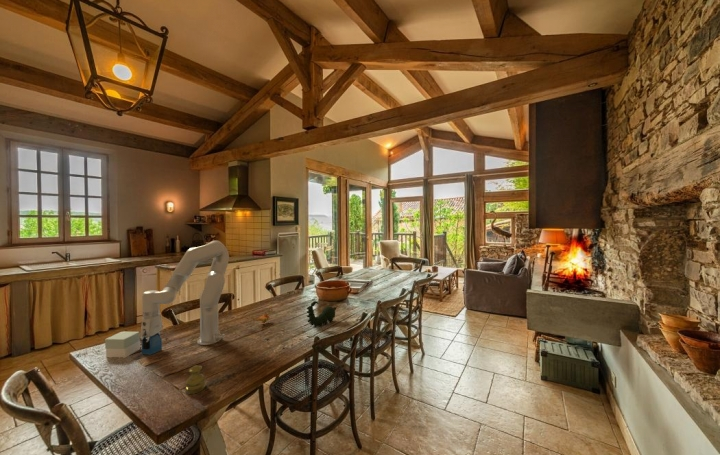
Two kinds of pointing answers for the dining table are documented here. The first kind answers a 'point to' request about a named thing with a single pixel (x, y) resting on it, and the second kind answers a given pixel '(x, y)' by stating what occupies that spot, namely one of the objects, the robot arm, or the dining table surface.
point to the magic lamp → (263, 317)
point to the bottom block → (123, 351)
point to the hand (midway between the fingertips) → (151, 345)
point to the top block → (122, 340)
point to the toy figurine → (326, 315)
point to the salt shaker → (195, 380)
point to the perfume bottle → (153, 345)
